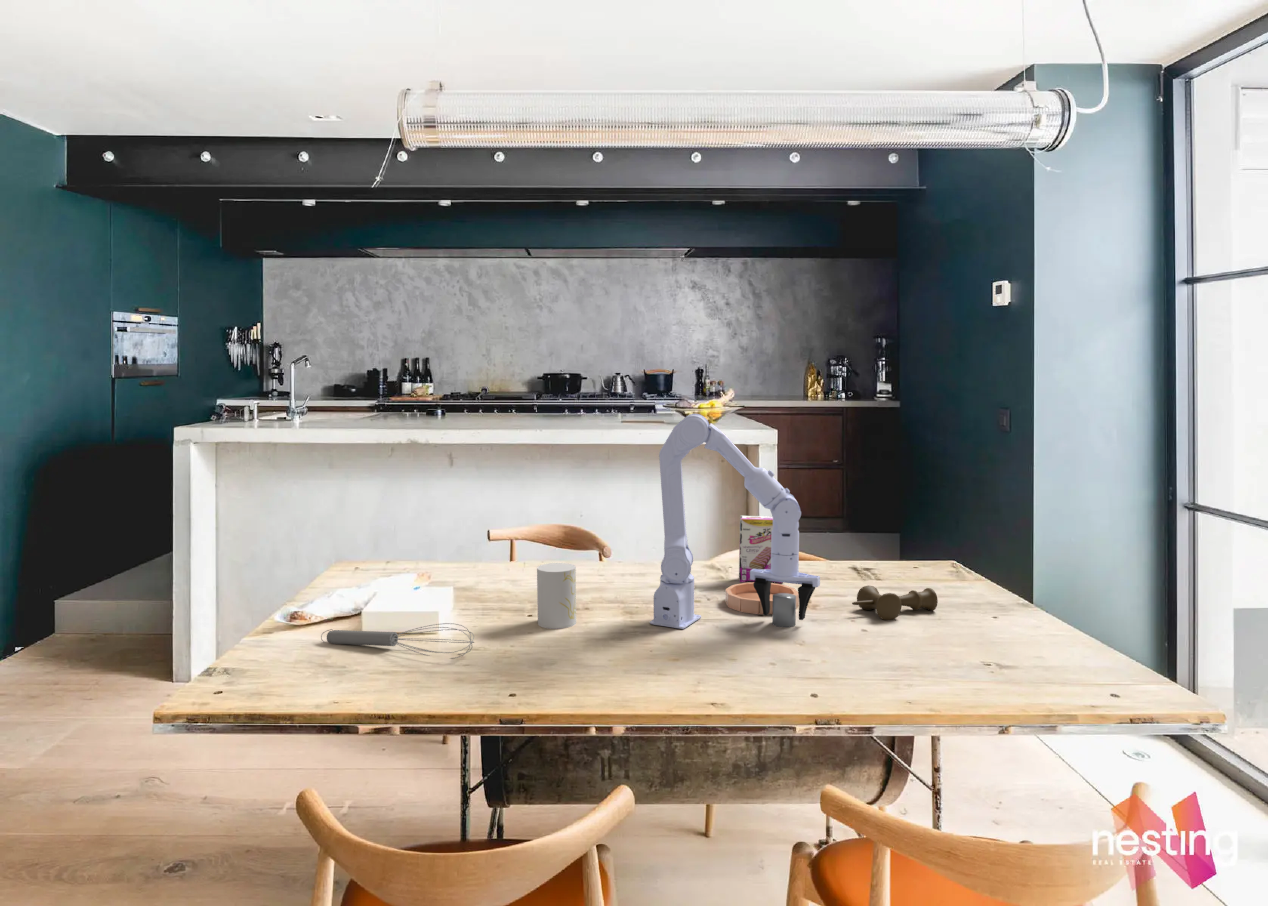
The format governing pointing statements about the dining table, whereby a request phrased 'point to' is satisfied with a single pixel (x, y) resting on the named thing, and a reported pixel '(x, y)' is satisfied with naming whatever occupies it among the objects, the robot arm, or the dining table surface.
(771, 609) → the bowl
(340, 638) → the kitchen whisk
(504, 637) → the dining table surface
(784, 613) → the grey cylinder
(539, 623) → the white cylinder
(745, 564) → the candy bar box
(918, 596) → the kendama
